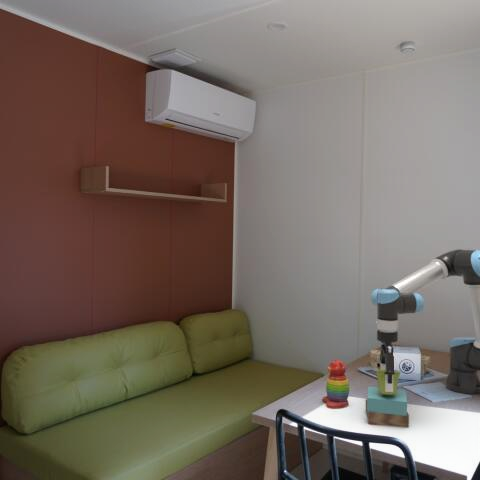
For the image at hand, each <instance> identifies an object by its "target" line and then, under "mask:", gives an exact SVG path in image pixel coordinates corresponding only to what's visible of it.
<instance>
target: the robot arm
mask: <svg viewBox="0 0 480 480" xmlns="http://www.w3.org/2000/svg"><path fill="white" fill-rule="evenodd" d="M449 277H462V280H463V284H464V285H465V286H466V287H467V288H468V292H469V299H470V306H471V312H472V318H473V324H474V325H473V326H474V330H475V337H472V336H471V337H469V336H467V337H466V336H464V337H461V336H460V337H453V338H452V339H451V340H450V346H449V371H448V373H447V376H446V379H445V388H447V389H448V390H450V391H453V392H456V393H460V394H466V395H467V394H469V395H470V394H471V395H472V394H479V393H480V375H479V371H480V249H460V248H459V249H453V250H450V251H448V252H445V253H443V254H440V255H439V256H436V257H435V258H432V259H431V260H430V261H429V264H427V265H425V266H424V267H422V268H419V269H418V270H416V271H415V272H413V273H410V274H408V275H407V276H406V277H404V278H402V279H401V280H399V281H397V282H395V283H393V284H392V285H389V286H388V287H386V288H384V289H383V288H376V289H375V290H373V291H372V293H371V295H370V296H371V297H370V299H371V303H372V305H373V306H375V307H377V312H376V314H377V315H376V316H377V320H376V321H375V324H376V326H377V327H376V328H377V331H376V340H377V342H378V341H379V342H381V344H380V351H381V353H380V360H381V361H380V362H381V363H382V364H381V368H380V369H379V370H386V372H384V374H386V376H385V392H393V374H395V372H394V371H395V370H394V356H393V352H394V349H395V348H394V347H393V345H392V343H397V342H398V340H399V339H398V336H399V335H398V334H399V333H398V330H399V315H401V314H402V315H405V314H417V313H420V312H422V311H423V309H424V308H425V307H424V306H425V301H424V298H423V297H422V296H423V295H421V294H419V293H418V292H419V291H421V290H422V289H425V288H426V287H428V286H430V285H431V284H433V283H435V282H436V281H439V280H445V279H447V278H449ZM389 370H391V371H389Z"/></svg>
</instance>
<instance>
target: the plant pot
mask: <svg viewBox="0 0 480 480" xmlns="http://www.w3.org/2000/svg"><path fill="white" fill-rule="evenodd" d="M374 371H375V374H376V378H377V385H378V386H377V387H379V393H380V394H385V395H386V394H387V395H396V393H397V389H398V386H399V385H398V383H399V377H400V373H402V371H396V370H394V372H395V374H393V392H385V376H386V374H384V372H386V370H380V369H374ZM389 371H391V370H389Z"/></svg>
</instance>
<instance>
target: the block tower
mask: <svg viewBox="0 0 480 480" xmlns="http://www.w3.org/2000/svg"><path fill="white" fill-rule="evenodd" d="M380 353H381V349H380V350H378V349H377V350H376V349H372V350H370V351H369V355H370V357H369V359H370V362H369V363H370V366H371V368H380V369H381V364H382V363H381V362H380V361H381V360H380ZM420 356H421V374H420V375H422V374H423V375H425V374H426V373H427V372H428V364H429V363H430V362H431V356H427V355H420ZM423 375H422V376H423Z"/></svg>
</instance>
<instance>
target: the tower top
mask: <svg viewBox="0 0 480 480" xmlns="http://www.w3.org/2000/svg"><path fill="white" fill-rule="evenodd" d="M366 398H367V411H368V412H377V413H386V414H395V415H404V416H407V412H408V399H407V398H408V397H407V391H406V389H399V388H397V393H396V395H387V394H386V395H385V394H380V393H379V386H377V387H376V386H368V389H367V397H366Z"/></svg>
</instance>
